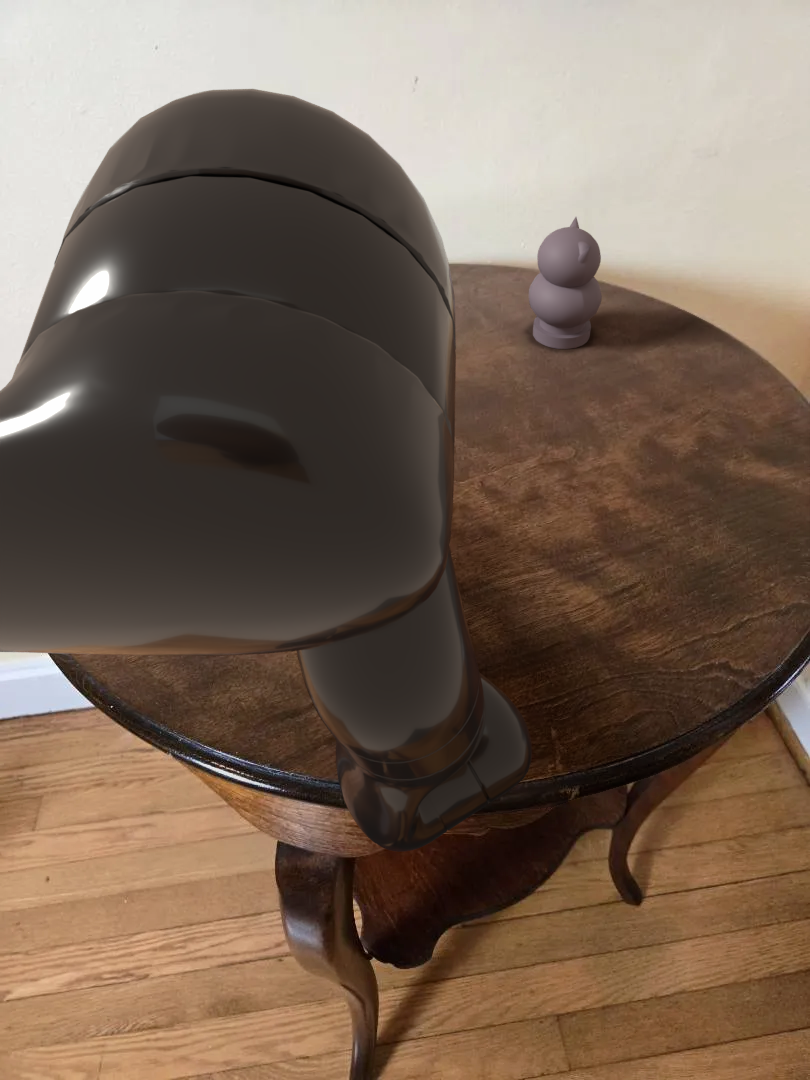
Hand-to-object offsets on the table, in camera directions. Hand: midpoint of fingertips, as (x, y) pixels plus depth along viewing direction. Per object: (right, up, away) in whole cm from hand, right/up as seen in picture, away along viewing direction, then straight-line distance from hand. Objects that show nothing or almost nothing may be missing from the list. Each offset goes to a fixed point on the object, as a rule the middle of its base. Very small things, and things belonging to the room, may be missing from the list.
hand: (232, 443), depth 67 cm
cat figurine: (+31, +15, +28) cm, 45 cm away
